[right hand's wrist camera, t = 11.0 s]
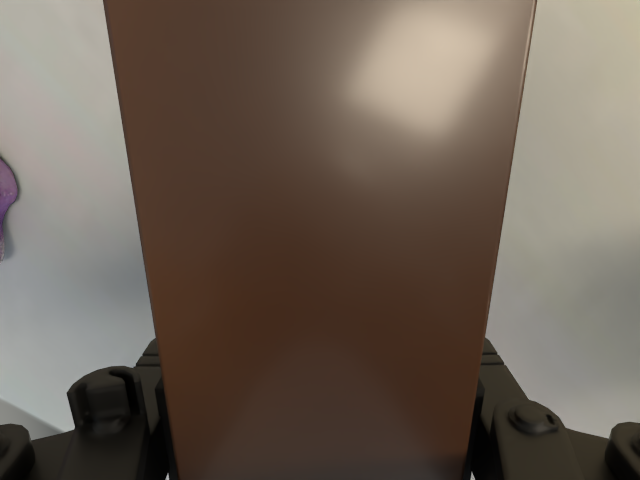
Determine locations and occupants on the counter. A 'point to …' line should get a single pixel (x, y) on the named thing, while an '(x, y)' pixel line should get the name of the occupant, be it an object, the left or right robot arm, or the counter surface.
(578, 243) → the counter surface
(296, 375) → the plank
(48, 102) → the counter surface
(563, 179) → the counter surface
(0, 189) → the figurine
